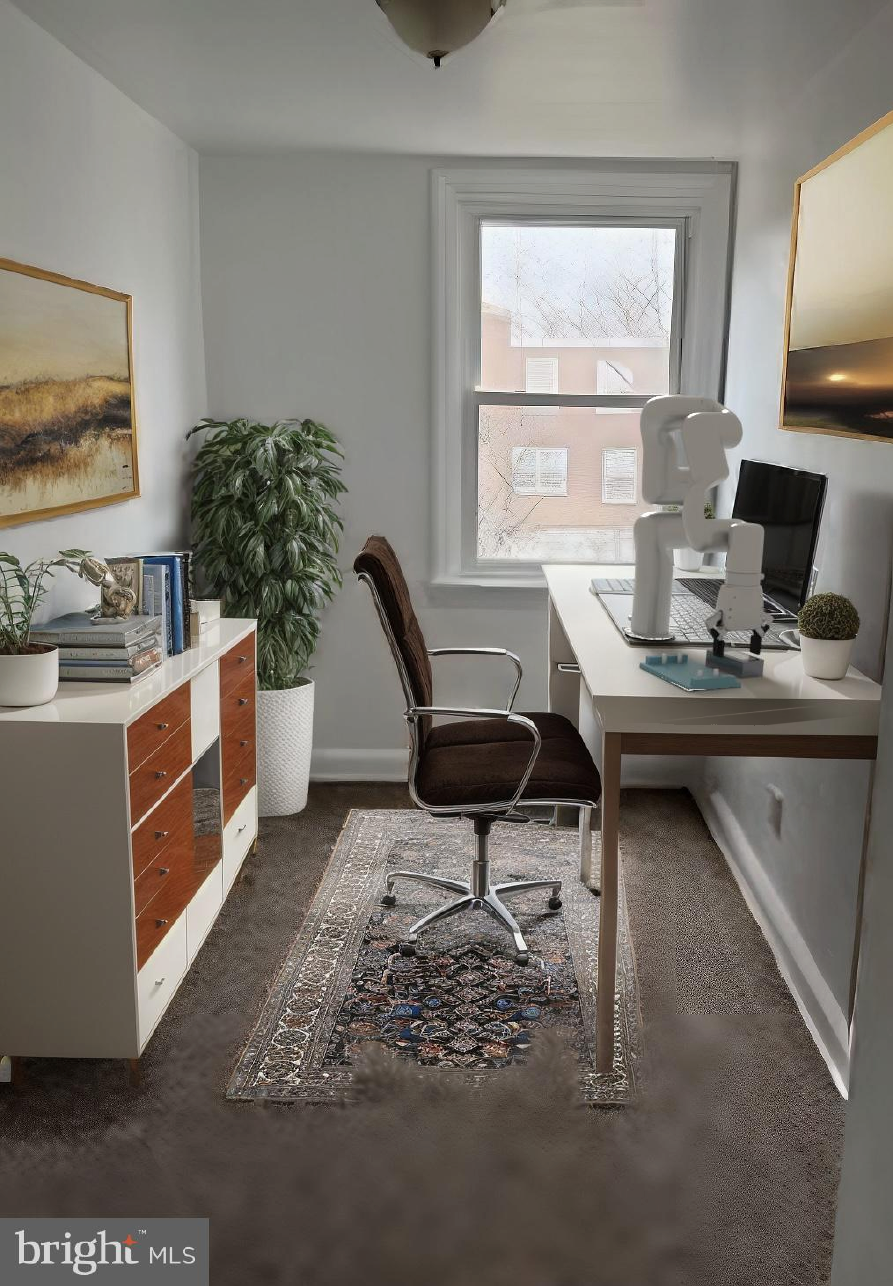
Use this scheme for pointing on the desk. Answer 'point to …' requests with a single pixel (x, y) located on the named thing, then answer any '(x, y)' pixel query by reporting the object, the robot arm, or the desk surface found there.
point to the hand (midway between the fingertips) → (736, 655)
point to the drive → (736, 663)
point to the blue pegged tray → (687, 672)
